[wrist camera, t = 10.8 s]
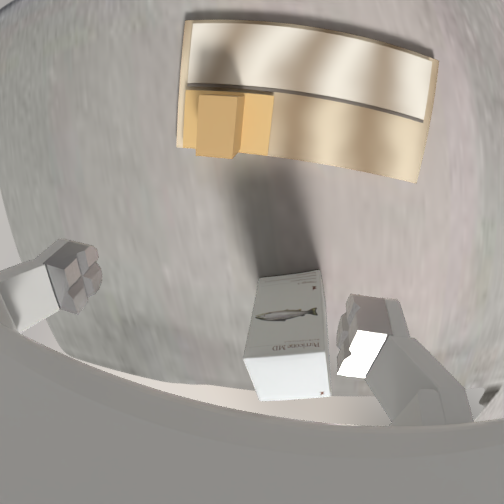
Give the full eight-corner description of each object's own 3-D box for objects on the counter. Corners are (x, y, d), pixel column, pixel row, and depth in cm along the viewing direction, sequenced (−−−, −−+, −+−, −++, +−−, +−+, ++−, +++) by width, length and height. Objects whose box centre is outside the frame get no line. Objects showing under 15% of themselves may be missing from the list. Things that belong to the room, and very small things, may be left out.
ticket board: (434, 61, 21) (441, 60, 20) (413, 180, 28) (418, 185, 27) (188, 22, 23) (183, 19, 21) (180, 145, 29) (174, 148, 28)
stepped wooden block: (274, 95, 25) (271, 96, 21) (267, 154, 28) (263, 166, 24) (187, 90, 25) (169, 91, 21) (184, 146, 28) (167, 157, 24)
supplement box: (321, 267, 34) (329, 351, 24) (326, 316, 38) (332, 399, 27) (257, 275, 36) (240, 358, 25) (269, 322, 39) (259, 403, 29)
